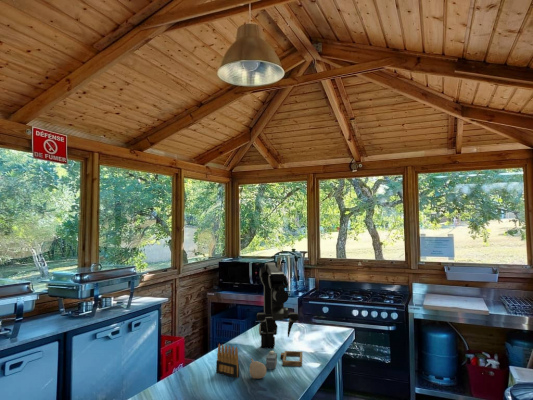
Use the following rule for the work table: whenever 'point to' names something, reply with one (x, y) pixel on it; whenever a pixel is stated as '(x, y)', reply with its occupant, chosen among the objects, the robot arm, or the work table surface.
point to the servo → (271, 360)
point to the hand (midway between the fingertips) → (277, 336)
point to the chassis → (291, 353)
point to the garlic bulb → (257, 369)
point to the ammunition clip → (227, 362)
